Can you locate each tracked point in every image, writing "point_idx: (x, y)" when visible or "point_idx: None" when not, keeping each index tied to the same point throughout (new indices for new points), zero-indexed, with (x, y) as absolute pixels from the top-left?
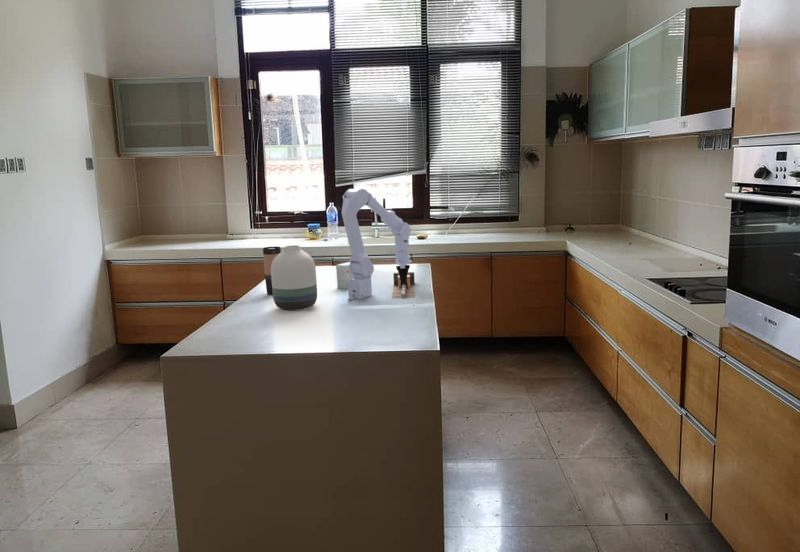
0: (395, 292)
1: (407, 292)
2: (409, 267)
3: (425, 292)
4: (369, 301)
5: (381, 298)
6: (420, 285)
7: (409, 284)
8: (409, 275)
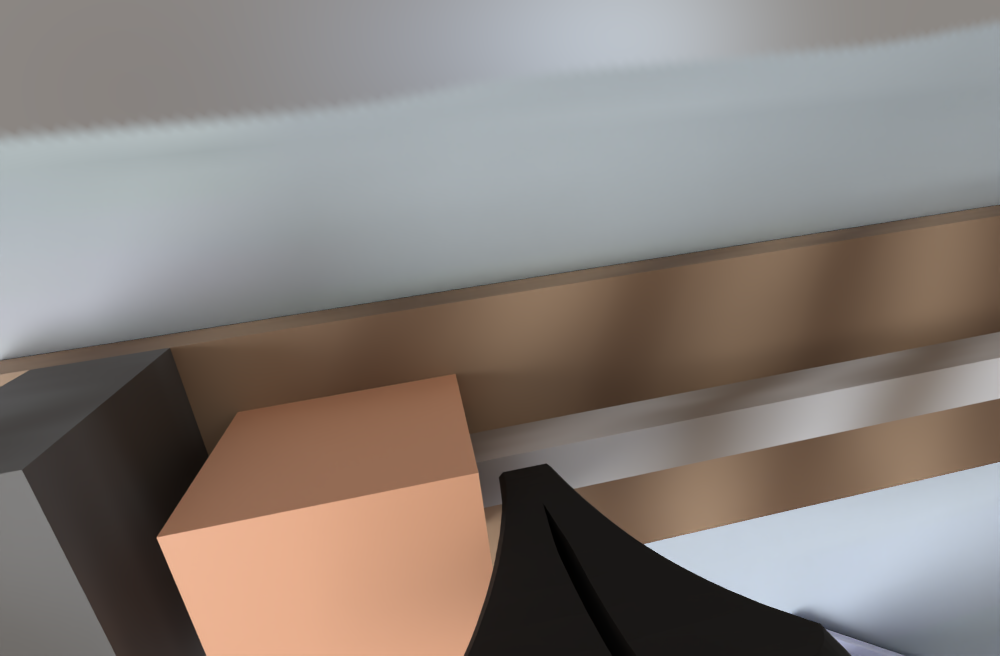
0: (770, 486)
1: (811, 341)
2: (823, 652)
3: (640, 91)
4: (935, 616)
5: (850, 559)
6: (5, 252)
7: (461, 401)
8: (267, 518)
